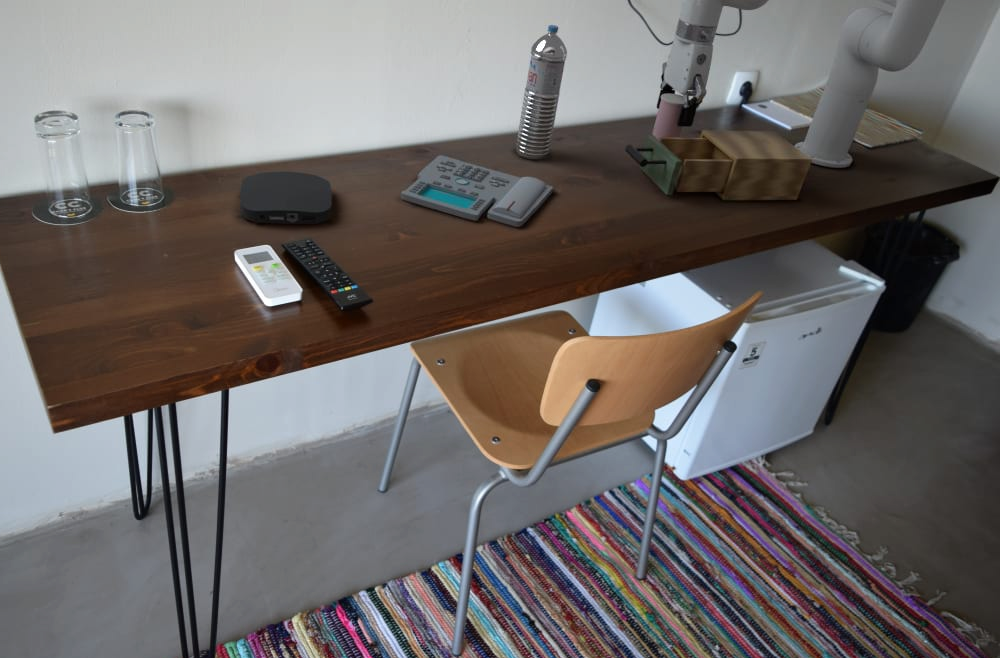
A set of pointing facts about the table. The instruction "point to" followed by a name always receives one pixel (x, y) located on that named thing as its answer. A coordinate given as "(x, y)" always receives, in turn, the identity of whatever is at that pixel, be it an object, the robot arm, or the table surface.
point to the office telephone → (477, 191)
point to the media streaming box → (286, 198)
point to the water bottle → (541, 96)
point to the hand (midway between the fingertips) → (673, 117)
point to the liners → (668, 116)
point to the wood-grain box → (760, 165)
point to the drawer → (683, 164)
